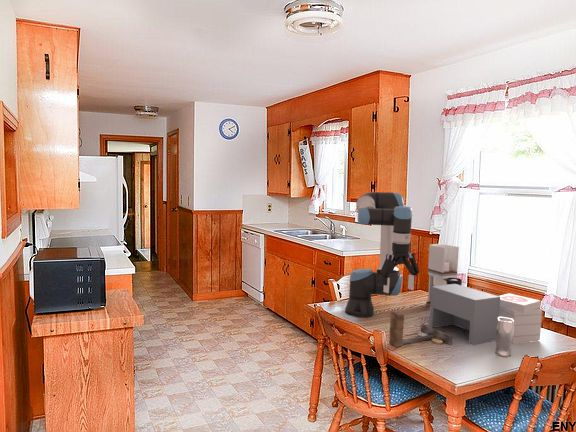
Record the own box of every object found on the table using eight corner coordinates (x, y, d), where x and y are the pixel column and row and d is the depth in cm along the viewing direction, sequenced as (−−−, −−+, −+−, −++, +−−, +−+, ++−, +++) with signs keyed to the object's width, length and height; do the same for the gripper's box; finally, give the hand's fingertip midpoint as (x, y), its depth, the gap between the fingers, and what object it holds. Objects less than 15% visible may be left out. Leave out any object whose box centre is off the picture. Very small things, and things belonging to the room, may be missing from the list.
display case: (426, 304, 263) (429, 244, 260) (440, 303, 267) (443, 243, 264) (440, 310, 252) (444, 247, 249) (454, 308, 257) (458, 246, 254)
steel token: (415, 335, 212) (415, 331, 212) (422, 333, 214) (423, 330, 214) (423, 338, 207) (423, 335, 207) (431, 337, 210) (431, 333, 210)
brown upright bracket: (379, 338, 205) (381, 307, 204) (422, 331, 217) (423, 301, 215) (407, 352, 189) (409, 319, 188) (451, 343, 201) (453, 312, 199)
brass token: (429, 341, 204) (429, 338, 204) (436, 339, 206) (436, 336, 206) (438, 345, 200) (438, 341, 199) (445, 343, 202) (446, 340, 202)
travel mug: (457, 314, 245) (459, 277, 244) (461, 319, 238) (463, 281, 236) (442, 313, 246) (445, 277, 244) (446, 318, 239) (448, 280, 237)
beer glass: (490, 351, 194) (492, 316, 193) (506, 351, 195) (508, 316, 193) (499, 357, 187) (502, 322, 186) (515, 357, 188) (518, 322, 186)
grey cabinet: (429, 326, 224) (431, 286, 222) (452, 322, 231) (455, 283, 229) (472, 344, 201) (475, 300, 199) (497, 339, 208) (500, 296, 206)
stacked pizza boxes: (499, 322, 235) (502, 287, 233) (546, 343, 206) (549, 303, 205) (467, 324, 230) (469, 288, 228) (511, 346, 201) (514, 305, 200)
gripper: (383, 245, 188) (381, 296, 190) (429, 242, 199) (426, 290, 201) (372, 242, 194) (369, 291, 197) (417, 239, 206) (414, 286, 208)
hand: (398, 290), depth 199 cm, fingers open, 13 cm apart
